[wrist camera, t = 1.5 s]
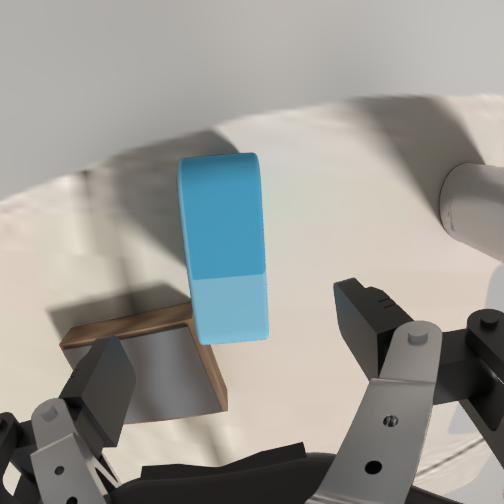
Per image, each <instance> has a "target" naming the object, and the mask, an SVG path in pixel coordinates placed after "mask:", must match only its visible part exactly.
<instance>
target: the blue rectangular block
mask: <svg viewBox="0 0 504 504" xmlns="http://www.w3.org/2000/svg"><path fill="white" fill-rule="evenodd" d="M177 190H178V200H179V209H180V218H181V227H182V235H183V244H184V252H185V259H186V267H187V274H188V281H189V288H190V295H191V302H192V308H193V315H194V321H195V327H196V333H197V337H198V340H199V342H200V343H201V344H202V345H209V344H222V343H235V342H246V341H257V340H265V339H267V338H268V335H269V322H268V302H267V283H266V264H265V245H264V228H263V210H262V193H261V178H260V168H259V162H258V158H257V155H256V154H255V153H238V154H225V155H213V156H202V157H192V158H183V159H181V160H180V161H179V162H178V166H177Z"/></svg>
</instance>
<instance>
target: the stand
mask: <svg viewBox="0 0 504 504" xmlns="http://www.w3.org/2000/svg"><path fill="white" fill-rule="evenodd" d="M112 335H115V336H117V337H118V339H119V340H120V342H121V344H122V346H123V348H124V350H125V352H126V354H127V356H128V358H129V360H130V362H131V364H132V366H133V369H134V371H135V375H136V384H135V388H134V391H133V394H132V397H131V400H130V404H129V407H128V410H127V413H126V417H125V420H124V423H123V424H135V423H146V422H156V421H165V420H173V419H180V418H187V417H194V416H201V415H207V414H213V413H219V412H224V411H228V400H227V388H226V385H225V383H224V380H223V378H222V375H221V373H220V370H219V367H218V365H217V362H216V359H215V357H214V354H213V351H212V348H211V346H210V344H209V345H202V344H201V343H200V342H199V340H198V337H197V333H196V327H195V321H194V315H193V308H192V302H190V303H185V304H181V305H177V306H172V307H168V308H164V309H159V310H155V311H150V312H146V313H141V314H137V315H132V316H127V317H123V318H118V319H113V320H109V321H104V322H99V323H94V324H89V325H84V326H80V327H75V328H71V330H70V331H69V332H68V334H67V335H66V336H65V337H64V339H63V340H62V342H61V343H60V344H59V346H60V347H61V349H62V351H63V353H64V355H65V357H66V359H67V360H68V362H69V364H70V366H71V367H72V369H73V371H74V369H75V367H76V366H77V364H78V362H79V361H80V360H81V359H82V358H83V357H84V356H85V355H86V354H87V353H88V352H89V350H90V348H91V346H92V345H93V343H94V341H95V340H96V339H97V338H101V337H106V336H112Z"/></svg>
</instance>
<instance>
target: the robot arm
mask: <svg viewBox="0 0 504 504" xmlns="http://www.w3.org/2000/svg"><path fill="white" fill-rule="evenodd" d="M440 216H441V220H442V223H443V226H444V228H445V230H446V231H447V233H448V234H449V235H450V236H451V237H452V238H454V239H456V240H458V241H460V242H462V243H464V244H466V245H468V246H470V247H472V248H475V249H476V250H478V251H480V252H482V253H485V254H487V255H489V256H491V257H493V258H495V259H497V260H499V261H501V262H503V263H504V168H502V167H495V166H489V165H482V164H475V163H463V164H460V165H458V166H457V167H455V168H454V169H453V170H452V171H451V172H450V174H449V175H448V176H447V178H446V180H445V182H444V184H443V187H442V190H441V195H440ZM333 289H334V296H335V304H336V311H337V319H338V325H339V329H340V332H341V335H342V337H343V339H344V340H345V342H346V344H347V345H348V347H349V349H350V350H351V352H352V354H353V355H354V357H355V358H356V360H357V362H358V363H359V365H360V367H361V368H362V370H363V372H364V373H365V375H366V377H367V378H368V380H369V385H368V387H367V390H366V392H365V394H364V397H363V399H362V401H361V404H360V406H359V408H358V411H357V413H356V415H355V417H354V420H353V422H352V424H351V426H350V428H349V430H348V432H347V435H346V437H345V439H344V441H343V443H342V445H341V447H340V449H339V451H338V453H337V455H336V454H330V453H316V452H313V453H306V452H305V448H304V444H303V442H300V443H296V444H292V445H288V446H284V447H280V448H275V449H271V450H266V451H261V452H259V453H256V454H254V455H251V456H249V457H246V458H244V459H241V460H238V461H236V462H233V463H230V464H228V465H225V466H222V467H205V466H194V465H185V464H169V465H154V466H142V471H141V477H140V478H137V479H134V480H131V481H129V482H127V483H124V484H122V483H121V481H120V480H119V478H118V476H117V475H116V473H115V472H114V470H113V468H112V467H111V465H110V463H109V462H108V460H107V458H106V457H105V455H104V454H103V453H102V449H103V448H104V447H117V444H118V441H119V437H120V434H121V430H122V427H123V423H124V420H125V417H126V413H127V410H128V407H129V404H130V400H131V397H132V394H133V391H134V388H135V384H136V375H135V371H134V369H133V366H132V364H131V362H130V360H129V358H128V356H127V354H126V352H125V350H124V348H123V346H122V344H121V342H120V340H119V339H118V337H117V336H115V335H112V336H106V337H101V338H97V339H96V340H95V341H94V343H93V345H92V346H91V348H90V350H89V352H88V353H87V354H86V355H85V356H84V357H83V358H82V359H81V360H80V361H79V362H78V364H77V366H76V367H75V369H74V371H73V372H72V374H71V376H70V377H71V378H69V379H68V381H67V383H66V385H65V386H64V388H63V390H62V392H61V394H60V395H59V397H58V398H53V399H49V400H47V401H45V402H43V403H42V404H40V405H39V406H38V407H37V408H36V409H35V410H34V412H33V414H32V417H31V420H29V421H25V422H22V423H19V422H18V421H17V419H16V418H15V417H14V415H13V414H12V413H10V412H4V413H1V414H0V504H463V503H460V502H457V501H454V500H451V499H448V498H445V497H442V496H439V495H437V494H434V493H431V492H429V491H426V490H423V489H421V488H418V487H416V486H413V482H414V478H415V475H416V472H417V468H418V465H419V461H420V458H421V454H422V450H423V446H424V443H425V439H426V434H427V430H428V426H429V421H430V417H431V412H432V407H433V405H438V404H443V403H448V402H453V401H459V403H460V404H461V406H462V407H463V409H465V411H466V413H467V414H468V416H469V417H470V419H471V420H472V421H473V423H474V424H475V426H476V427H477V429H478V430H479V432H480V433H481V435H482V436H483V438H484V439H485V441H486V442H487V444H488V445H489V447H490V448H491V450H492V451H493V453H494V454H495V456H496V458H497V459H498V461H499V462H500V464H501V465H502V467H503V469H504V384H503V383H504V313H503V312H501V311H498V310H494V309H482V310H478V311H475V312H473V313H472V314H471V315H470V316H469V317H468V319H467V326H466V329H461V330H455V331H450V332H442V331H441V329H440V328H439V327H438V326H437V325H435V324H433V323H431V322H427V321H414V320H413V319H412V318H411V317H410V316H409V315H408V314H407V313H406V312H405V311H404V310H403V309H402V308H401V307H400V306H398V305H396V303H395V302H394V301H393V300H392V299H390V297H389V296H388V295H387V294H386V293H385V292H384V291H382V290H380V289H377V288H374V287H368V288H364V287H363V286H362V285H361V284H360V283H359V282H358V281H357V280H356V279H355V278H350V279H347V280H343V281H340V282H336V283H334V286H333ZM498 378H499V379H500V380H501V381H502V382H503V383H502V382H501V381H500V380H499V379H498ZM9 461H10V462H11V463H12V464H13V465H14V466H15V468H16V469H17V470H18V471H19V472H20V473H21V477H20V479H19V482H18V484H17V487H16V490H15V492H14V495H13V496H12V495H11V494H10V493H9V492H8V491H7V490H6V489H5V487H4V485H3V475H4V473H5V470H6V468H7V466H8V464H9ZM503 498H504V487H503Z"/></svg>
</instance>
